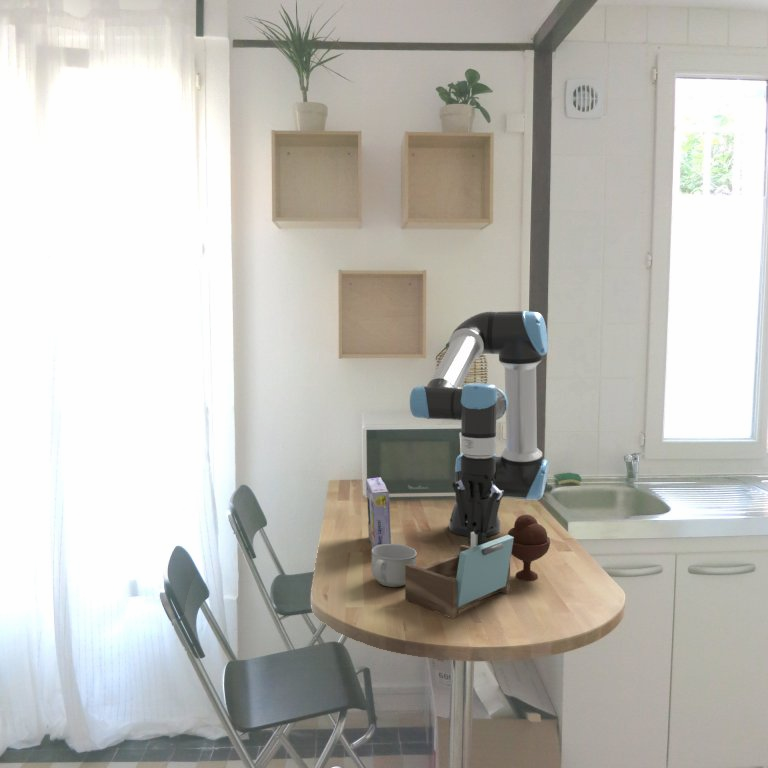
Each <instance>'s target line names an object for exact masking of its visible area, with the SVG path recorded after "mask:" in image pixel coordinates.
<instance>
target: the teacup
mask: <svg viewBox="0 0 768 768" xmlns="http://www.w3.org/2000/svg"><path fill="white" fill-rule="evenodd" d="M417 555H418V552H417V550H416V549H415V548H413V547H410V546H407V545H406V544H400V543H391V544H382V545H377V546H375V547H373V548H371V574H372V576H373V578H374V579H375V580H376V581H377V582H378V583H379V584H380V585H382V586H386V587H389V588H397V587H398V588H399V587H403V586H405V565H407V564H411V565H414V566H417V563H416V562H417Z"/></svg>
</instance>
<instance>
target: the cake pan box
mask: <svg viewBox="0 0 768 768" xmlns="http://www.w3.org/2000/svg"><path fill="white" fill-rule="evenodd" d="M366 497H367V515H368V516H367V517H368V522H367V523H368V525H367V527H368V528H367V529H368V530H367V531H368V539H369V542H370V544H371V547H372V548H373V547H375V546H377V545H382V544H392V535H391V534H392V533H391V532H392V531H391V509H390V505H391V504H390V492H389V490H388V488H387V485H386V484H385V482H384V481H383V480H382V477H372V478H366ZM372 548H371V549H372Z"/></svg>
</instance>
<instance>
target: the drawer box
mask: <svg viewBox="0 0 768 768" xmlns="http://www.w3.org/2000/svg"><path fill="white" fill-rule="evenodd" d="M470 548H471V546H469V545H465V544H462V545H459V554H458V553H457V554H455V555H453V556H450V557H447V558H445V559H442V560H440V561H437V562H433V563H431V564H429V565H428V564H427V565H426V566H423V567H419V566H417V565H415V566H414V565H411V564H407V565H405V585H404V586H405V590H404V591H405V592H404V593H405V594H404V595H405V598H404V599H405V600H406V601H407V600H408V602H410V603H412V604H415V605H418V606H420V607H423V608H425V609H427V610H430V611H432V612H435V611H436V612H435V613H438V612H439V614H440V613H441V615H443V616H445V615H446V617H448V616H449V617H448V618H450V619H451V618H452V619H455V618H457V617H458V611H460V610H462V609H464V608H466V607H468V606H470V605H473V604H475V603H477V602H480V601H481V600H483V599H486V598H488V597H491V596H492V595H495V594H497V593H503V594H507V595H508V594H510V593H511V563H510V564H509V570H508V576H507V582H506V586H505V587H502V588H500V589H498V590H496V591H493V592H491V593H489V594H487V595H484V596H482V597H480V598H478V599H475V600H473V601H471V602H469V603H466V604H464V605H462V606H460V607H457V580H456V576H457V570H458V563H459V556H460V552H462V551H465V550H468V549H470Z"/></svg>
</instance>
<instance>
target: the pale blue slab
mask: <svg viewBox="0 0 768 768" xmlns="http://www.w3.org/2000/svg"><path fill="white" fill-rule="evenodd" d="M513 540H514V537H512V536H510V535H507V534H506V535H503V536H501V537H498V538H495V539H493V540H490V541H486V543H484V544H481V545H478V546H476V547H473V548H470V549H468V550H465V551H462V552H460V551H459V554H460V556H459V563H458V570H457V576H456V580H457V607H460V606H462V605H464V604H466V603H469V602H471V601H473V600H475V599H478V598H480V597H482V596H484V595H487V594H489V593H491V592H493V591H496V590H498V589H500V588H502V587H505V586H506V582H507V576H508V570H509V564H510V565H511V557H512V554H511V552H512V546H513Z"/></svg>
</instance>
